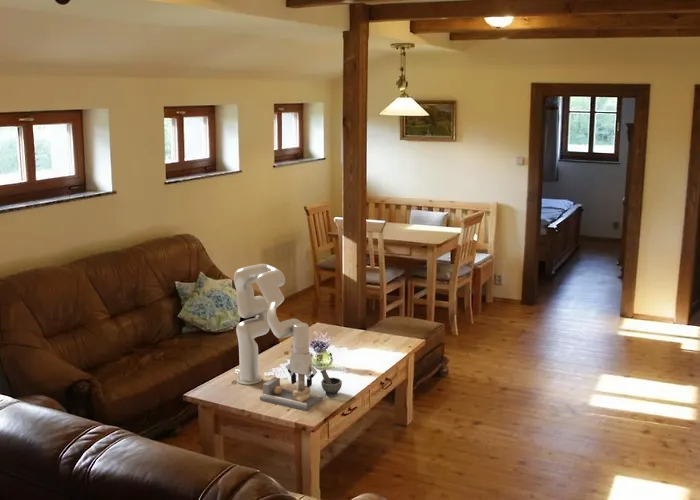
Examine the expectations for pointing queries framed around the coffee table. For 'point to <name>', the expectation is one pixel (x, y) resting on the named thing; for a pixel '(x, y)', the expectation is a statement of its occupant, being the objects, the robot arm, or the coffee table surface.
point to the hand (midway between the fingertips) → (301, 384)
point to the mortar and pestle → (330, 384)
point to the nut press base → (286, 396)
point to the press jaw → (301, 390)
